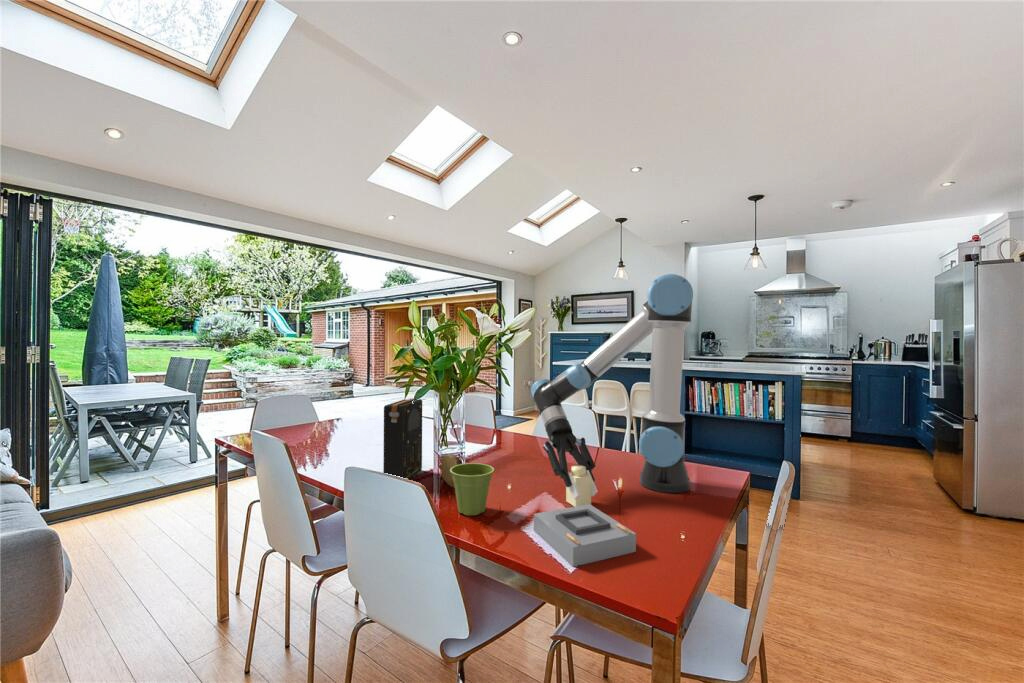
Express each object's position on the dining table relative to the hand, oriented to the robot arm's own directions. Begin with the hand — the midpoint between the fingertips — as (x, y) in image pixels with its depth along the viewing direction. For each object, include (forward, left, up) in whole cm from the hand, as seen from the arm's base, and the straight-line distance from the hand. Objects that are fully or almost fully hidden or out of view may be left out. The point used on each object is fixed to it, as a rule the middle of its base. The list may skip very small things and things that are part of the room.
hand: (585, 495), depth 118 cm
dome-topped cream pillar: (0, -4, -3) cm, 5 cm away
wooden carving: (+28, -31, -4) cm, 42 cm away
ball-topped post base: (+11, +15, -4) cm, 19 cm away
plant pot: (+29, -11, -4) cm, 31 cm away
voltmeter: (+41, -47, -4) cm, 62 cm away
